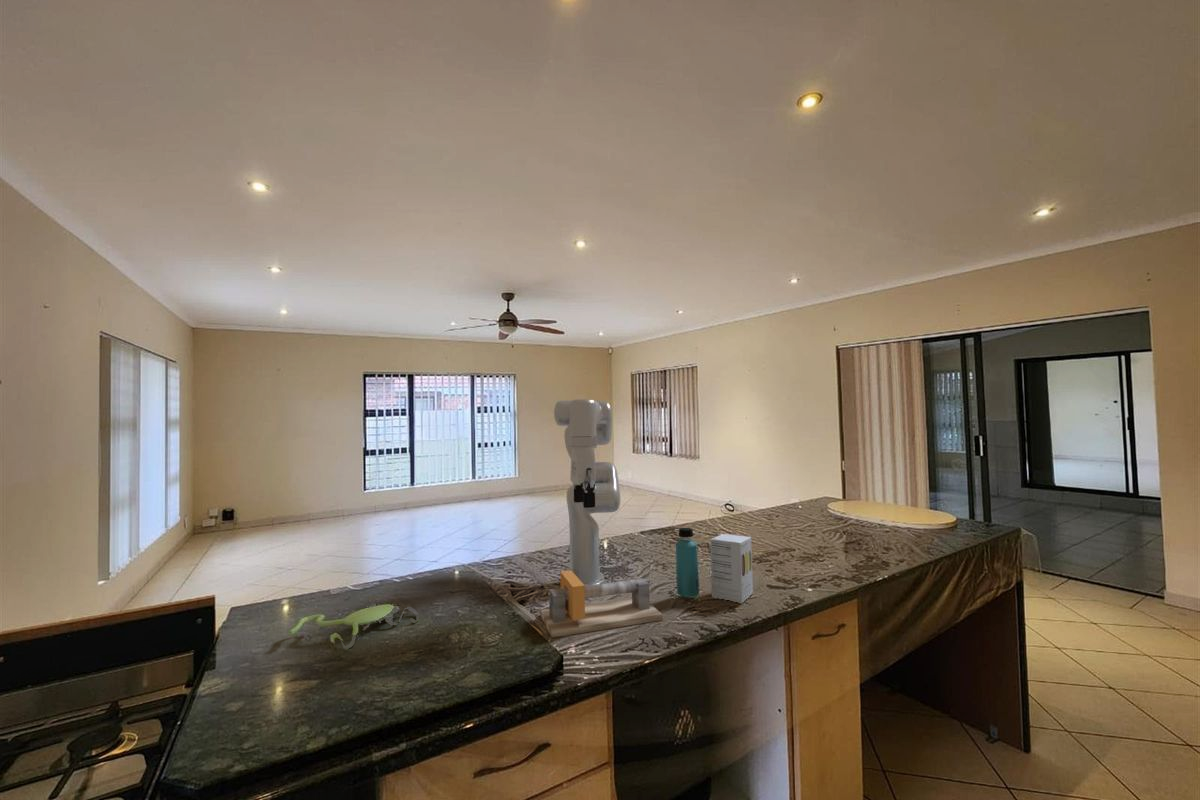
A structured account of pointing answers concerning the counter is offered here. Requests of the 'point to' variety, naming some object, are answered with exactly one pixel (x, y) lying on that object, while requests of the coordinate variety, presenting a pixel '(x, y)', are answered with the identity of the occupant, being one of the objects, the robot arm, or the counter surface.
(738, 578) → the supplement box
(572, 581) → the brown slab
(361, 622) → the figurine
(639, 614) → the pipe rig
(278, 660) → the counter surface
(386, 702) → the counter surface
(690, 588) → the beverage bottle
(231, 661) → the counter surface
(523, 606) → the counter surface
